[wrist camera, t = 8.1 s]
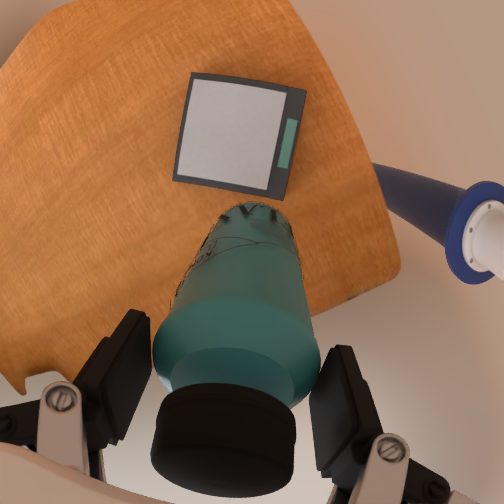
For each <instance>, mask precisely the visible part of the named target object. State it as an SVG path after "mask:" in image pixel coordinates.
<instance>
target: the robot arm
mask: <svg viewBox="0 0 504 504" xmlns="http://www.w3.org/2000/svg"><path fill="white" fill-rule="evenodd" d="M462 251H463V256H464V258H465V261H466V263H467V264H468V265H469V266H470V267H471V268H472V269H474V270H475V271H478V272H485V271H488V270H490V271H491V272H492V273H494V274H495V275H496V276H498V277H499V278H500V279H501V280H503V281H504V204H502V203H501V202H499V201H496V200H487V201H484V202H482V203H481V204H480V205H478V206H477V207H476V208H475V209H474V211H473V212H472V214H471V215H470V217H469V219H468V221H467V223H466V226H465V229H464V233H463V240H462ZM151 371H152V360H151V339H150V318H149V317H147V316H146V314H145V312H143V311H139V310H134V309H130V310H129V311H128V312H127V314H126V315H125V316H124V318H123V319H122V321H121V322H120V324H119V325H118V326H117V328H116V329H115V331H114V332H113V334H112V335H111V336H110V338H109V337H104V338H103V339H102V340H101V341H100V343H99V344H98V346H97V347H96V349H95V350H94V351H93V353H92V354H91V356H90V357H89V359H88V360H87V362H86V363H85V365H84V366H83V368H82V369H81V371H80V372H79V374H78V375H77V377H76V378H75V380H74V381H73V383H72V384H71V383H69V382H64V381H59V382H54V383H52V384H49V385H48V386H47V387H46V388H45V389H44V390H43V392H42V395H41V399H40V400H35V401H30V402H26V403H21V404H17V405H12V406H6V407H1V408H0V504H174V503H169V502H165V501H161V500H157V499H153V498H149V497H147V496H143V495H139V494H136V493H133V492H130V491H127V490H124V489H121V488H118V487H115V486H113V485H110V484H107V482H106V476H105V469H104V462H103V455H102V449H104V448H106V447H107V445H108V443H109V444H112V445H115V446H116V445H117V443H118V440H123V439H124V437H125V435H126V432H127V430H128V427H129V425H130V422H131V420H132V418H133V415H134V413H135V410H136V408H137V406H138V403H139V401H140V398H141V396H142V394H143V391H144V389H145V387H146V384H147V382H148V380H149V377H150V375H151ZM309 406H310V413H311V422H312V430H313V440H314V448H315V457H316V467H317V470H318V471H321V476H322V478H332V483H334V484H335V485H334V487H333V490H332V492H331V495H330V497H329V499H328V502H327V504H479V503H477V502H475V501H473V500H472V499H470V498H468V497H466V496H464V495H463V494H461V493H459V492H458V491H456V490H453V491H452V492H451V491H450V486H449V483H448V482H447V480H446V479H444V478H443V477H442V476H440V475H438V474H436V473H435V472H433V471H431V470H429V469H427V468H426V467H424V466H422V465H421V464H419V463H417V462H416V461H414V460H412V459H411V458H409V456H410V449H409V446H408V444H407V443H406V441H405V440H404V439H403V438H402V437H400V436H398V435H396V434H392V433H384V432H383V429H382V426H381V423H380V420H379V417H378V413H377V410H376V407H375V405H374V401H373V398H372V395H371V392H370V389H369V386H368V384H367V382H366V381H365V380H364V379H363V378H362V375H361V372H360V369H359V366H358V363H357V360H356V357H355V354H354V352H353V349H352V347H351V346H347V345H336V346H335V347H334V348H331V349H330V350H329V352H328V355H327V357H326V359H325V362H324V364H323V366H322V368H321V371H320V373H319V376H318V378H317V381H316V383H315V385H314V387H313V389H312V390H311V393H310V396H309Z"/></svg>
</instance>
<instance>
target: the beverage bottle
mask: <svg viewBox="0 0 504 504" xmlns="http://www.w3.org/2000/svg"><path fill="white" fill-rule="evenodd" d="M251 202H252V201H251ZM243 203H244V202H243ZM260 203H262V202H260ZM268 205H269V204H268ZM270 206H271V205H270ZM270 206H267V205H264V204H259V203H246V204H240V205H238V206H235V207H234V206H233V208H231V209H230V208H229V209H230V210H228V211H227V212H226V213H224V214H222V215H221V216H220V217H219V218H218V219H219V220H218V222H217V223H216V225H215V227H214V229H213V231H212V232H210V231H209V234H208V235H210V236H209V238H208V235H207V238H208V239H207V238H206V239H205V241H204V242H203V245H204V246H203V245H202V246H200V247H201V249H202V250H201V249H200V254H199V253H198V254H199V256H198V258H197V259H196V260H195V263H194V265H191V266H190V267H192V269H191V270H190V268H188V269H189V270H190V272H188V273H189V274H188V276H187V278H186V280H185V279H184V278H183V279H184V280H185V282H184V280H182V281H183V282H184V283H182V282H180V284H181V283H182V284H183V285H181V286H182V287H181V286H180V284H179V286H180V287H181V289H180V291H179V292H178V291H176V292H178V294H177V293H176V294H177V295H175V296H176V298H175V300H174V304H173V306H172V308H171V304H170V309H171V310H170V312H169V314H168V316H167V317H166V318H165V320H164V321H163V322H162V324H161V325H160V327H159V329H158V331H157V333H156V335H155V338H154V342H153V349H152V355H153V363H154V367H155V370H156V372H157V375H158V376H159V378H160V380H161V382H162V383H163V385H164V386H165V388H166V389H167V390H168V391H169V393H170V394H168V395H167V396H166V397H165V398H164V400H163V401H162V403H161V406H160V409H159V412H158V415H157V419H156V430H155V434H154V439H153V443H152V448H151V452H150V453H151V454H150V455H151V462H152V465H153V467H154V468H155V470H156V471H157V472H158V473H159V474H160V475H162V476H163V477H164V478H165V479H167V480H169V481H170V482H172V483H174V484H176V485H178V486H181V487H183V488H185V489H188V490H191V491H194V492H198V493H202V494H206V495H211V496H219V497H230V498H246V497H255V496H261V495H266V494H269V493H272V492H275V491H277V490H279V489H281V488H283V487H284V486H286V485H287V483H289V482H290V480H291V477H292V475H293V469H294V445H295V442H296V423H295V418H294V415H293V413H292V412H291V410H290V409H291V408H293V407H294V406H296V405H297V404H298V403H300V402H301V401H302V400H303V399H304V398H305V397H306V396H307V395H308V394H309V392H310V391H311V390H312V389H313V387H314V385H315V383H316V381H317V378H318V376H319V372H320V368H321V366H320V365H321V358H320V351H319V347H318V344H317V341H316V339H315V337H314V332H313V328H312V323H311V318H310V313H309V309H308V304H307V299H306V295H305V290H304V286H303V281H302V274H301V272H302V271H301V269H300V265H301V264H300V263H299V260H300V259H299V260H298V255H297V254H298V253H297V250H296V247H295V244H294V240H293V238H294V237H293V233H292V229H291V226H290V224H289V223H288V221H289V220H288V221H286V219H285V218H284V217H283V216H282V215H283V214H282V215H281V214H280V213H279V212H278V210H276V209H275V207H274V209H273V206H272V208H271V207H270ZM231 207H232V206H231ZM281 213H282V212H281ZM284 216H285V215H284ZM285 217H286V216H285ZM213 226H214V225H213ZM213 226H212V227H213ZM211 229H212V228H211ZM210 233H211V234H210ZM295 239H296V238H295ZM206 240H207V241H206ZM205 242H206V243H205ZM295 242H296V241H295ZM296 246H297V245H296ZM202 247H203V248H202ZM299 254H300V253H299ZM196 255H197V254H196ZM195 257H196V256H195ZM193 261H194V259H193ZM191 264H192V263H191ZM302 266H303V265H302ZM189 270H187V271H189ZM184 275H185V274H184ZM183 277H184V276H183ZM185 277H186V276H185ZM303 279H304V277H303ZM179 286H178V287H179ZM180 287H179V288H180ZM176 290H179V289H178V288H177V289H176ZM173 295H174V294H173ZM170 303H171V301H170Z"/></svg>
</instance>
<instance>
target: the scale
mask: <svg viewBox="0 0 504 504" xmlns="http://www.w3.org/2000/svg"><path fill="white" fill-rule="evenodd" d="M306 93H307V91H306V90H302V89H298V88H293V87H289V86H284V85H279V84H274V83H269V82H264V81H258V80H252V79H246V78H239V77H232V76H224V75H216V74H206V73H195V72H192V73H191V77H190V81H189V86H188V91H187V96H186V101H185V106H184V111H183V116H182V122H181V127H180V133H179V139H178V145H177V151H176V158H175V164H174V171H173V179H172V181H178V182H184V183H190V184H196V185H202V186H208V187H214V188H219V189H225V190H230V191H236V192H241V193H246V194H252V195H257V196H262V197H267V198H272V199H276V200H281V201H283V200H284V196H285V191H286V187H287V182H288V178H289V173H290V169H291V164H292V159H293V155H294V150H295V146H296V141H297V136H298V131H299V127H300V122H301V117H302V112H303V107H304V103H305V98H306Z"/></svg>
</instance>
